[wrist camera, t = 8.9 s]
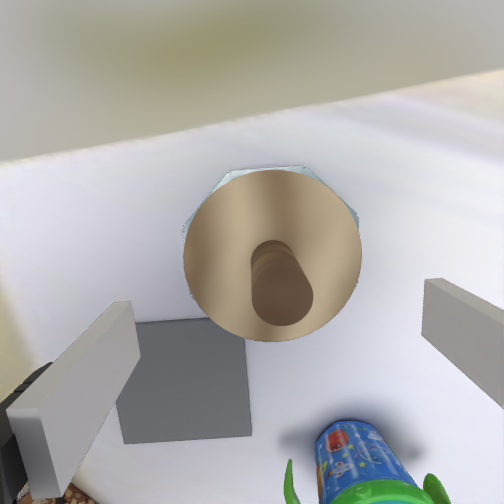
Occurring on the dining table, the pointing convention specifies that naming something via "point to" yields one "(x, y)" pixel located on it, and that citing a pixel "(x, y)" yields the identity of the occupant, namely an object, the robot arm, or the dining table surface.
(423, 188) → the dining table surface
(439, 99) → the dining table surface
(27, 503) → the bread
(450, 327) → the robot arm
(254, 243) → the lid
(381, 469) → the snack cup
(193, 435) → the mat
